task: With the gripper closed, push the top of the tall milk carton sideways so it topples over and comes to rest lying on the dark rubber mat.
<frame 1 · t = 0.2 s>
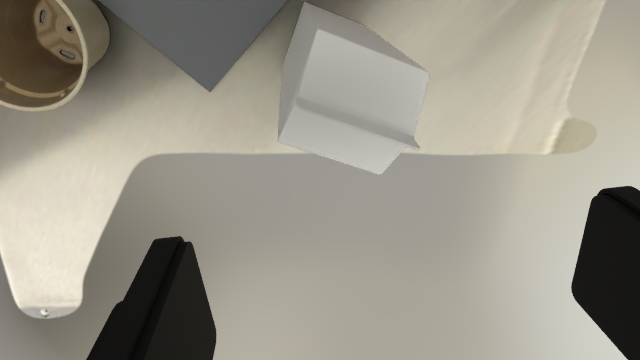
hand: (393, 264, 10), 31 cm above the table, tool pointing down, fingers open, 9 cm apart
flower pot: (72, 27, 36), on the table
milk: (323, 46, 38), on the table
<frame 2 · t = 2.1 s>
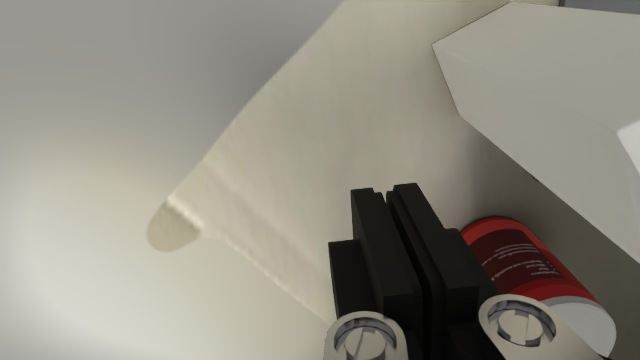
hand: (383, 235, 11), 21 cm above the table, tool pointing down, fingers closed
canned food: (488, 249, 38), on the table
milk: (482, 60, 30), on the table
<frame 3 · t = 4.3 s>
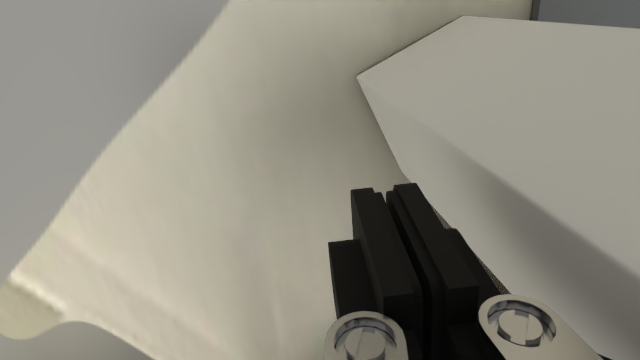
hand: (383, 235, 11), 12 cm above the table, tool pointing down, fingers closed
milk: (428, 97, 22), on the table
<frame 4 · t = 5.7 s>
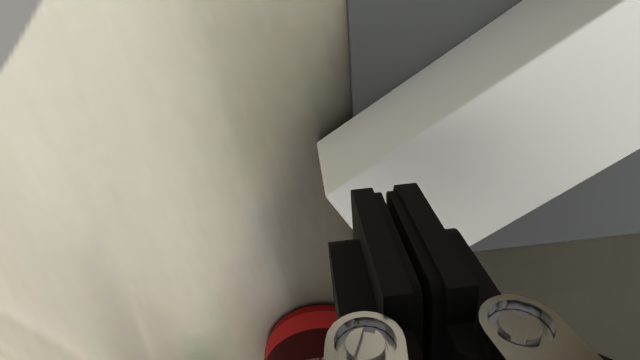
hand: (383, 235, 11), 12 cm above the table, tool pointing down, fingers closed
canned food: (321, 340, 29), on the table
mat: (558, 82, 22), on the table
milk: (351, 212, 20), point 4 cm above the table, touching mat
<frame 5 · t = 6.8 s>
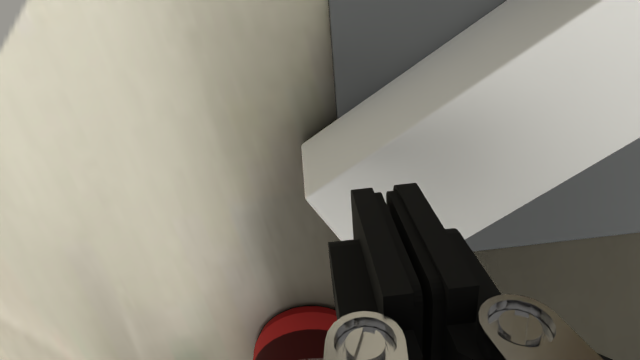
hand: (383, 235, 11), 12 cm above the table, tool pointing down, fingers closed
canned food: (310, 341, 29), on the table
mat: (542, 83, 22), on the table
milk: (334, 214, 20), point 4 cm above the table, touching mat
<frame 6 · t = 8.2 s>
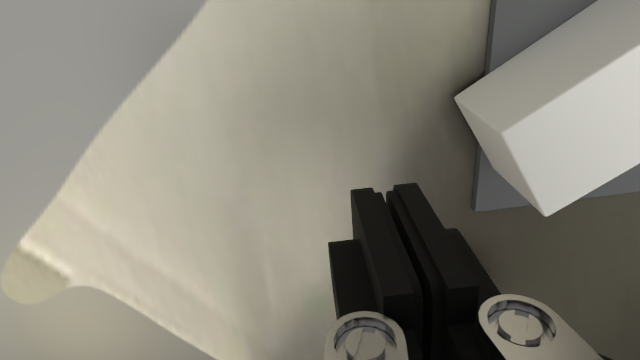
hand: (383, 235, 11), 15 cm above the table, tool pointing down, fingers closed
milk: (493, 156, 23), point 4 cm above the table, touching mat
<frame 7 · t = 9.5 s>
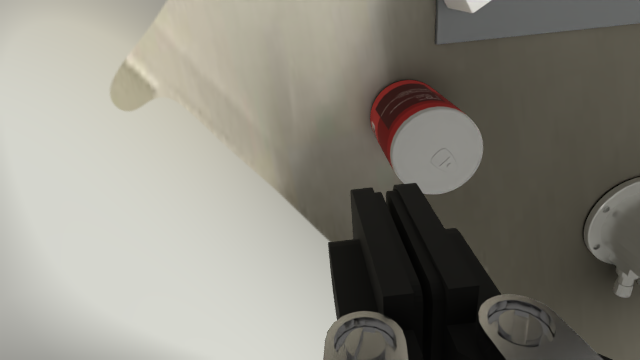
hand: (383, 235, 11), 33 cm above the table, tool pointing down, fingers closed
canned food: (404, 113, 44), on the table
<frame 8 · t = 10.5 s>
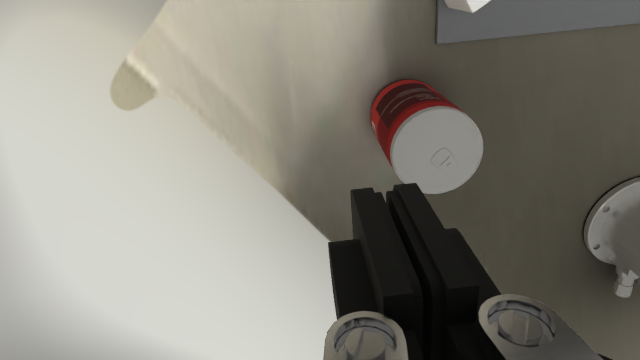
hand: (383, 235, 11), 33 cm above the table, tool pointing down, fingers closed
canned food: (404, 113, 44), on the table
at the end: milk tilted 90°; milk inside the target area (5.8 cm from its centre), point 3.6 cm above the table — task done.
